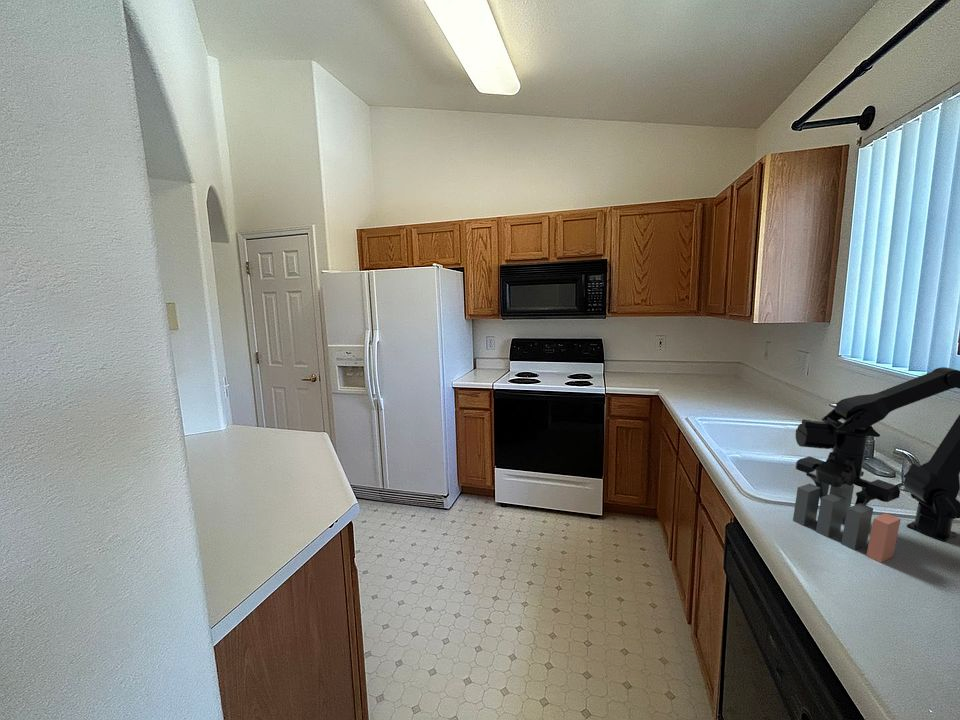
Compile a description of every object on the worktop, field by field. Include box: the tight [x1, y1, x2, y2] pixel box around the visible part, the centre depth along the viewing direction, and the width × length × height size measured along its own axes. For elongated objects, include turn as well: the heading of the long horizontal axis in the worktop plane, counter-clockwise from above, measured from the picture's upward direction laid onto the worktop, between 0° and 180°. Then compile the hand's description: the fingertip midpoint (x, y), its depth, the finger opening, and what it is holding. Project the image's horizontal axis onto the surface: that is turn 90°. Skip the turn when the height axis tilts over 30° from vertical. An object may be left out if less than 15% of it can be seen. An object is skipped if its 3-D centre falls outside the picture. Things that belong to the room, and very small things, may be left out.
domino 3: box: [815, 493, 846, 538], centre depth 94 cm, size 2×5×9 cm, turn 113°
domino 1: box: [792, 483, 821, 526], centre depth 98 cm, size 2×5×9 cm, turn 113°
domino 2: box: [829, 484, 855, 521], centre depth 99 cm, size 2×5×9 cm, turn 113°
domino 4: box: [840, 503, 874, 551], centre depth 89 cm, size 2×5×9 cm, turn 113°
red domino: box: [866, 513, 902, 564], centre depth 85 cm, size 2×5×9 cm, turn 113°
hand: (838, 508), depth 100 cm, fingers open, 6 cm apart
